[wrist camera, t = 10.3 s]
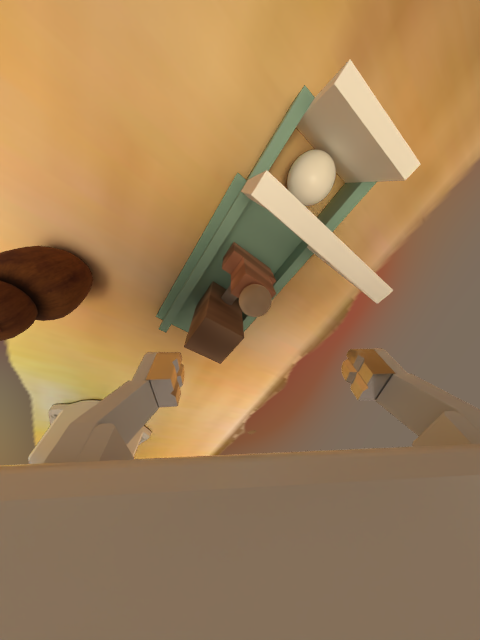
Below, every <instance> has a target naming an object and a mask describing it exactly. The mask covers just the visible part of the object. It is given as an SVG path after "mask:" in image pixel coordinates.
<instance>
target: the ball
mask: <svg viewBox="0 0 480 640" xmlns="http://www.w3.org/2000/svg"><path fill="white" fill-rule="evenodd" d="M335 176H336V168H335V164H334V161H333V159H332V158H331V156H330V155H329V154H328V153H326V152H325V151H322V150H317V149H315V150H310V151H307V152H305V153H303V154H302V155H301V156H299V157H298V158H297V159H296V160H295V162H294V163H293V165H292V166H291V168H290V171H289V174H288V178H287V188H288V191H289V192H290V193H292V194H293V195H294V196H295V197H296V198H297V199H298V200H299V201H300V202H301V203H302V204H303V205H304V206H310V205H314V204H316V203H318V202H320V201H321V200H323V199H324V198H325V197H326V196H327V195H328V193H329V192H330V190H331V189H332V187H333V184H334V181H335Z"/></svg>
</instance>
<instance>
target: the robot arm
mask: <svg viewBox="0 0 480 640" xmlns="http://www.w3.org/2000/svg"><path fill="white" fill-rule="evenodd" d="M347 357H348V359H347V360H345V361H344V362H343V364H342V374H343V377H344V379H345V380H346V381H347V382H348V383H350V384H351V390H352V392H353V393H354V395H355V396H356V398H357V400H376V402H377V403H378V404H380V405H381V406H382V407H383V408H384V409H386V410H387V411H388V412H389V413H391V414H392V415H393V416H394V417H396V418H397V419H398V420H399V421H400V422H402V423H403V424H404V425H405V426H407V427H408V428H409V429H410V430H411V431H413V432H414V433H415V434H417V435H418V436H419V437H418V438H417V439H416V440H414V441H413V443H412V446H413V447H396V448H372V449H350V450H329V451H306V452H284V453H262V454H241V455H218V456H197V457H175V458H153V459H134V455H135V452H136V450H137V447H138V445H139V444H141V443H142V442H144V441H146V440H147V439H148V438H149V437H150V435H151V431H150V430H149V429H147V428H146V427H145V426H144V425H145V423H146V422H147V421H148V420H149V419H150V418H151V416H152V415H153V414H154V413H155V412H156V411H157V410H158V407H172V406H178V403H179V399H180V395H181V391H180V387H181V386H182V385H183V382H184V365H183V364H181V361H182V356H181V353H180V352H158V353H150V352H147V353H146V354H145V355H144V357H143V359H142V361H141V363H140V365H139V367H138V369H137V371H136V373H135V375H134V377H133V379H132V381H127V382H126V383H124V384H123V385H122V386H120V387H119V388H118V389H116V390H115V391H114V392H112V393H111V394H109V395H108V396H107V397H105V398H104V399H103V400H101V401H97V400H86V401H79V402H76V403H72V404H57V405H53V406H52V407H51V409H50V410H49V418H50V427H49V428H48V430H47V431H46V433H45V434H44V435H43V437H42V438H41V440H40V441H39V442H38V444H37V445H36V447H35V448H34V450H33V451H32V452H31V454H30V455H29V457H28V460H29V464H22V465H0V640H480V409H478V408H476V407H474V406H472V405H470V404H468V403H467V402H465V401H462V400H461V399H459V398H457V397H455V396H453V395H451V394H449V393H447V392H445V391H443V390H442V389H439V388H438V387H436V386H434V385H432V384H430V383H428V382H426V381H424V380H422V379H420V378H419V377H416V376H415V375H413V374H408V373H407V372H406V371H405V370H404V369H403V368H402V367H401V366H400V365H399V364H398V363H397V362H396V361H395V360H394V359H393V358H392V357H391V356H390V355H389V354H388V353H387V352H386V351H385V350H384V349H382V348H378V349H377V348H376V349H350V350H349V351H348V353H347Z"/></svg>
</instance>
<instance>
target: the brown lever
mask: <svg viewBox="0 0 480 640" xmlns="http://www.w3.org/2000/svg"><path fill="white" fill-rule="evenodd" d="M222 269H223V270H225V271H226V272H228V273H229V274H231V285H230V286H229V287H228V289H227V290H226V289H225V288H223V287H222V286H220V285H218V284H217V283H215V282H214V281H213V282H212V283H211V285H210V286H209V288H208V289H207V291H206V292H205V294H204V295H203V297H202V298H201V299H200V301H199V302H198V304H197V305H196V308H195V312H194V315H193V318H192V322H191V325H190V328H189V332H188V335H187V338H186V342H185V345H184V347H185V348H187V349H189V350H192V351H194V352H196V353H198V354H200V355H202V356H205V357H207V358H209V359H211V360H213V361H215V362H218V363H220V364H221V363H222V362H223V360H224V359H225V358H226V357H227V356H228V355H229V354H230V353H231V352H232V351H233V349H234V348H235V347H236V346H237V345H238V344H239V343H240V342H241V341H242V340H243V338H244V330H243V318H242V311H243V312H244V313H245V314H246V315H248V316H251V317H259V316H262V315H264V314H265V313H266V312H267V311H268V310H269V309H270V306H271V302H272V298H273V297H274V296H275V295H276V292H275V289H274V287H273V284H274V283H275V282H276V279H275V277H274V275H273V273H272V271H271V269H270V268H269V267H268V266H266V265H265V264H264V263H262V262H261V261H260V260H258V259H257V258H255V257H254V256H253V255H251V254H250V253H249V252H247V251H246V250H244V249H243V248H242V247H240V246H239V245H238V244H236V243H235V242H233V243H232V245H231V247H230V248H229V250H228V251H227V253H226V254H225V256H224V257H223V264H222Z"/></svg>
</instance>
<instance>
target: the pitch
mask: <svg viewBox="0 0 480 640" xmlns="http://www.w3.org/2000/svg"><path fill="white" fill-rule="evenodd" d="M295 128H297V129H298V130H299V131H300V133H301V134H302V135H303V136H304V137H305V138H306V139H307V140H308V142H309V143H310V144H311V145H312V146H313V147H314V148H315V149H317V150H322V151H325V152H326V153H328V154H329V155H330V156H331V158H332V159H333V161H334V164H335V168H336V173H337V174H338V175H339V176H340V177H341V179H342V180H343V181H344V182H345V184H344V185H343V187H342V188H341V189H340V190H339V191H338V193H337V194H336V195H335V196H334V198H333V199H332V200H331V201H330V202H329V204H328V205H327V206H326V207H325V208H324V210H323V211H322V212H321V213H320V215H319V216H318V217H316V216H315V215H314V214H313V213H311V212H310V211H309V210H308V209H307V208H306V207H305V206H304V205H303V204H302V203H301V202H300V201H299V200H298V199H297V198H296V197H295V196H294V195H293V194H292V193H290V192H289V191H288V190H287V189H286V188H285V187H284V186H283V185H282V184H281V183H280V182H279V181H278V180H277V179H276V178H275V177H274V176H273V175H272V174H270V173H269V172H268V171H269V169H270V168H271V166H272V164H273V163H274V161H275V160H276V158H277V156H278V155H279V153H280V152H281V150H282V149H283V147H284V145H285V144H286V142H287V141H288V139H289V137H290V136H291V134H292V133H293V131H294V130H295ZM419 165H420V162H419V161H418V159H417V158H416V156H415V155H414V153H413V152H412V150H411V149H410V147H409V146H408V144H407V143H406V141H405V140H404V138H403V137H402V136H401V134H400V133H399V131H398V130H397V128H396V127H395V125H394V124H393V122H392V121H391V119H390V118H389V116H388V115H387V113H386V112H385V110H384V109H383V107H382V106H381V104H380V103H379V101H378V100H377V98H376V97H375V95H374V94H373V92H372V91H371V89H370V88H369V87H368V85H367V84H366V82H365V81H364V79H363V78H362V76H361V75H360V73H359V72H358V70H357V69H356V67H355V66H354V64H353V63H352V61H351V60H349V61H348V62H347V63H346V64H345V65H344V66H343V67H342V68H341V70H340V71H339V72H338V73H337V74H336V75H335V76H334V77H333V78H332V79H331V80H330V82H329V83H328V84H327V85H326V86H325V87H324V88H323V89H322V90H321V91H320V92H319V94H318V95H317V96H316V97H314V96H313V95H312V94H311V92H310V91H309V90H308V89H307V87H306V86H305V85H304V87H303V88H302V90H301V91H300V93H299V94H298V95H297V97H296V98H295V100H294V101H293V103H292V104H291V106H290V108H289V109H288V111H287V113H286V114H285V116H284V118H283V119H282V121H281V123H280V124H279V126H278V128H277V129H276V131H275V133H274V134H273V136H272V138H271V139H270V141H269V143H268V145H267V146H266V148H265V150H264V151H263V153H262V155H261V156H260V158H259V160H258V161H257V163H256V165H255V166H254V168H253V170H252V171H251V173H250V175H249V176H248V178H247V180H246V179H244V178H243V177H242V176H241V175H240V174H239V173H237V174H236V176H235V178H234V180H233V181H232V183H231V185H230V187H229V188H228V190H227V192H226V194H225V195H224V197H223V199H222V201H221V203H220V204H219V206H218V208H217V210H216V211H215V213H214V215H213V217H212V218H211V220H210V222H209V224H208V225H207V227H206V229H205V231H204V232H203V234H202V236H201V238H200V240H199V241H198V243H197V245H196V247H195V248H194V250H193V252H192V254H191V255H190V257H189V259H188V261H187V262H186V264H185V266H184V268H183V269H182V271H181V273H180V275H179V276H178V278H177V280H176V282H175V284H174V285H173V287H172V289H171V291H170V292H169V294H168V296H167V298H166V299H165V301H164V303H163V305H162V306H161V308H160V310H159V312H158V313H157V315H156V317H158V318H160V319H162V320H163V321H162V323H161V325H160V327H159V330H161V331H164V332H167V330H168V329H169V327H170V326H171V324H172V325H174V326H176V327H178V328H180V329H182V330H184V331H186V332H189V328H190V325H191V322H192V318H193V315H194V312H195V308H196V305H197V304H198V302H199V301H200V299H201V298H202V297H203V295H204V294H205V292H206V291H207V289H208V288H209V286H210V285H211V283H212V282H213V281H214V282H215V283H217V284H218V285H220V286H222V287H223V288H225V289H226V290H227V289H228V287H229V286H230V285H231V274H229V273H228V272H226V271H225V270H223V269H222V264H223V257H224V256H225V254H226V253H227V251H228V250H229V248H230V247H231V245H232V243H233V242H235V243H236V244H238V245H239V246H240V247H242V248H243V249H244V250H246V251H247V252H249V253H250V254H251V255H253V256H254V257H255V258H257V259H258V260H260V261H261V262H262V263H264V264H265V265H266V266H268V267H269V268H270V269H271V271H272V273H273V275H274V277H275V279H276V282H275V283H274V284H273V287H274V289H275V292H276V295H277V294H278V293H279V292H280V291H281V290H282V288H283V287H284V286H285V285H286V284H287V283H288V282H289V281H290V279H291V278H292V277H293V276H294V275H295V274H296V273H297V272H298V270H299V269H300V268H301V267H302V266H303V265H304V264H305V263H306V261H307V260H308V259H309V258H310V257H311V256H312V255H313V254H315V255H316V256H318V257H319V258H320V259H322V260H323V261H324V262H325V263H327V264H328V265H329V266H330V267H332V268H333V269H334V270H335V271H337V272H338V273H339V274H340V275H342V276H343V277H344V278H345V279H347V280H348V281H349V282H350V283H352V284H353V285H354V286H356V287H357V288H358V289H359V290H361V291H362V292H363V293H364V294H366V295H367V296H368V297H369V298H371V299H372V300H373V301H374V302H376V303H377V304H378V303H379V302H380V301H381V300H383V299H384V298H385V297H386V296H387V295H389V294H390V293H391V292H392V291H393V290H392V289H391V288H390V287H389V286H388V285H387V284H386V283H385V282H384V281H383V280H382V279H381V278H380V277H379V276H378V275H377V274H376V273H375V272H374V271H372V270H371V269H370V268H369V267H368V266H367V265H366V264H365V263H364V262H363V261H362V260H361V259H360V258H359V257H358V256H357V255H356V254H355V253H354V252H352V251H351V250H350V249H349V248H348V247H347V246H346V245H345V244H344V243H343V242H342V241H341V240H340V239H339V238H338V237H337V236H336V235H335V234H334V233H333V231H334V230H335V228H336V227H337V226H338V225H339V224H340V223H341V222H342V221H343V219H344V218H345V217H346V216H347V215H348V214H349V213H350V212H351V210H352V209H353V208H354V207H355V206H356V205H357V204H358V203H359V201H360V200H361V199H362V198H363V197H364V196H365V195H366V194H367V192H368V191H369V190H370V189H371V188H372V187H373V186H374V185H375V183H376V182H378V181H400V180H406V179H407V178H408V177H409V176H410V175H411V174H412V173H413V172H414V171H415V170H416V169H417V168H418V166H419ZM276 295H275V296H276ZM275 296H274V297H275ZM274 297H273V298H272V300H273V299H274ZM242 318H243V330H244V331H245V330H246V329H247V328H248V327H249V326H250V324H251V323H252V322H253V321H254V320H255V319H256V318H257V317H251V316H248V315H246V314H245V313H244V312H243V311H242Z"/></svg>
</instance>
